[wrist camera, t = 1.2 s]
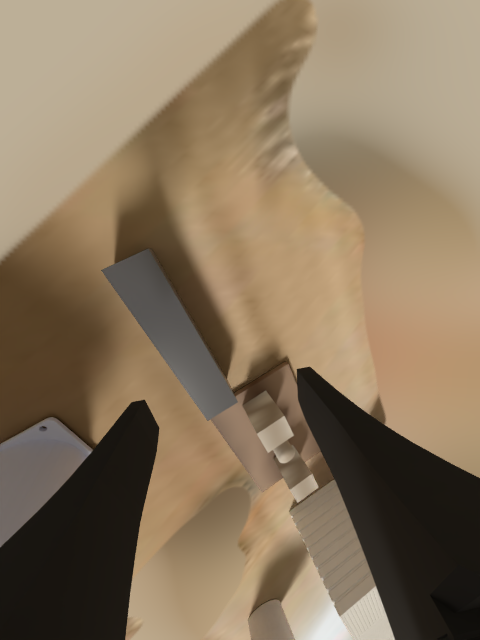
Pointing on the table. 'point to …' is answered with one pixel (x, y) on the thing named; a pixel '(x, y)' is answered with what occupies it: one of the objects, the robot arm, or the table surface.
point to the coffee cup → (270, 623)
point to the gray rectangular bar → (171, 330)
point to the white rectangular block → (342, 563)
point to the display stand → (271, 432)
